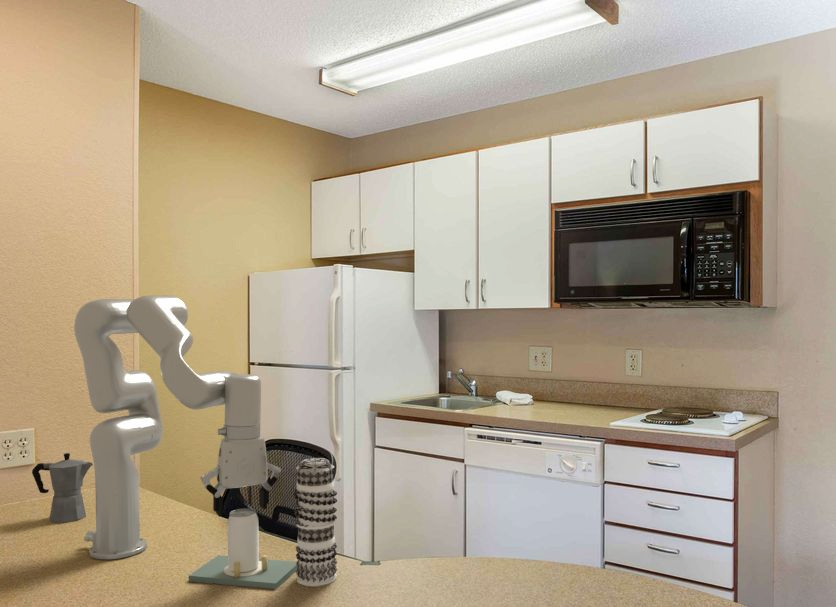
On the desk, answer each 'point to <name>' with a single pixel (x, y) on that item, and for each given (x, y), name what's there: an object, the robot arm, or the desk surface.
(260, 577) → the green board with pegs
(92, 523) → the desk surface
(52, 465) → the coffeepot
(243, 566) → the can
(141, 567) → the desk surface
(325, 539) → the decorative candle
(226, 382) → the robot arm
